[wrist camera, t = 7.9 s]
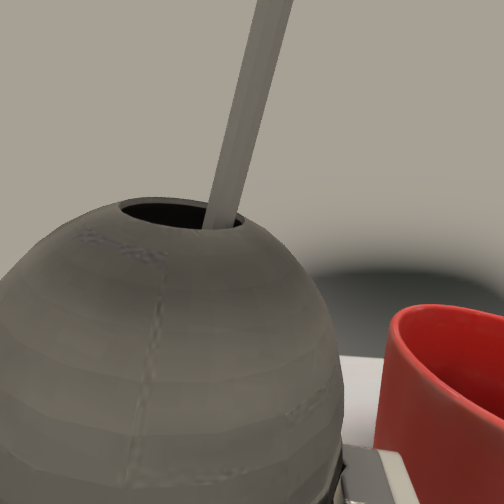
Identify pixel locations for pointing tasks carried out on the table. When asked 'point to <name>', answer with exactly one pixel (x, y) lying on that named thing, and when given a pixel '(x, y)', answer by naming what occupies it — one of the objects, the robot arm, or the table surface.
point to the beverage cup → (172, 346)
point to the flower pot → (445, 402)
